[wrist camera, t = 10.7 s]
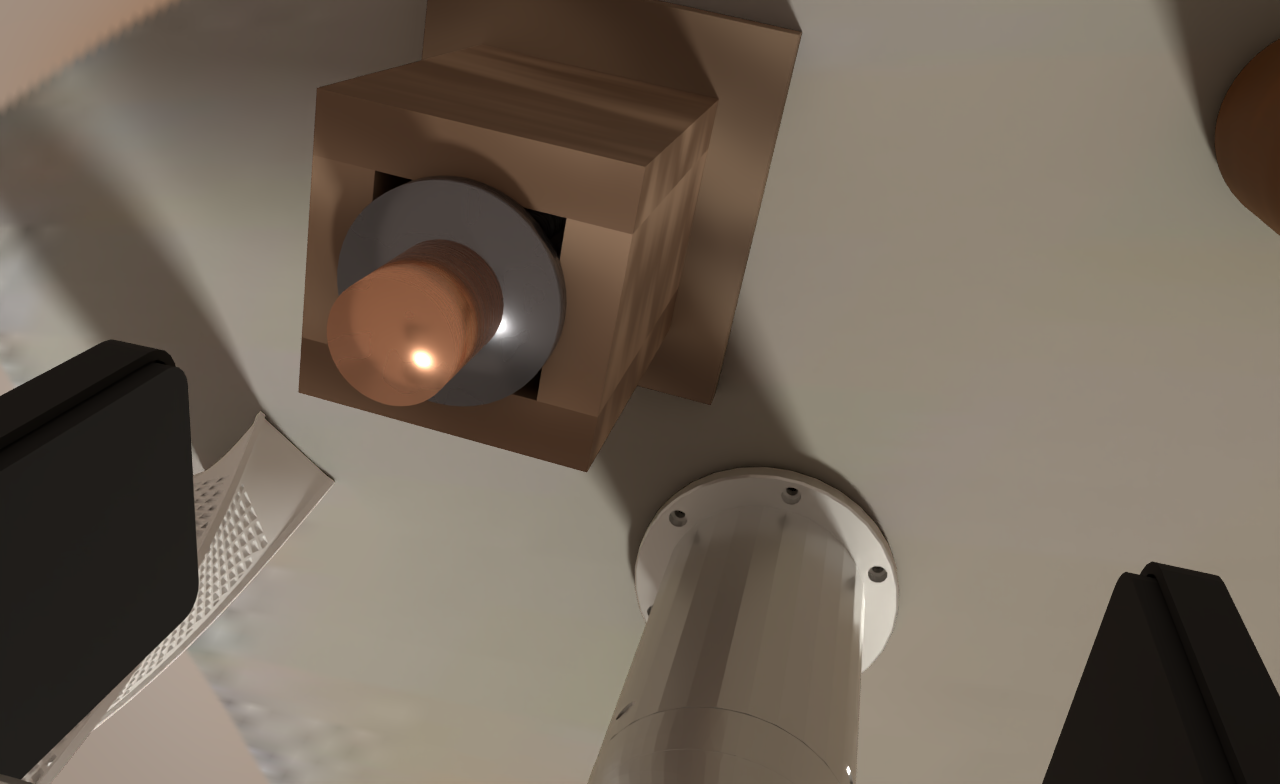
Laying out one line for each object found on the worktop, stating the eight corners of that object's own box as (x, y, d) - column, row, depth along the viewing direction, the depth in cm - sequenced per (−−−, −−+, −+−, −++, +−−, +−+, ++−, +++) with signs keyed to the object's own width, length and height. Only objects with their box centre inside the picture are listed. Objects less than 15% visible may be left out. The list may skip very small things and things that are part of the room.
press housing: (715, 392, 50) (644, 570, 36) (408, 311, 52) (227, 451, 38) (802, 32, 43) (756, 78, 29) (446, -47, 45) (242, -38, 31)
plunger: (638, 294, 46) (497, 491, 30) (483, 255, 47) (263, 425, 31) (671, 131, 43) (533, 250, 27) (504, 92, 44) (273, 184, 28)
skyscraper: (258, 377, 55) (-287, 755, 30) (368, 479, 56) (-70, 929, 31) (180, 469, 58) (-371, 879, 33) (285, 564, 59) (-173, 1033, 34)
